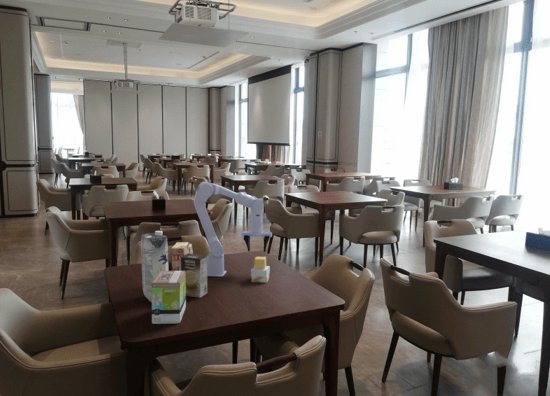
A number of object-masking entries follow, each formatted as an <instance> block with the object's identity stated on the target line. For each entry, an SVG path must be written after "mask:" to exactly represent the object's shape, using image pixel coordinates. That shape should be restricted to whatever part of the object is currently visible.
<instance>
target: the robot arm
mask: <svg viewBox="0 0 550 396" xmlns="http://www.w3.org/2000/svg"><path fill="white" fill-rule="evenodd" d="M219 194H220V195H222V196H225V197H228V198H230V199H233V200H235V203H236V204H238V205H240V206H244V207H246V208H248V209H249V208H250V230H249V231H242V232H241V237H242V238H243V240H244V241H243V242H245V244H246V247H247V252H250V251H251V237H262V238H263V253H265V252H266V251H267V245H268V242H269V240H270V238H272V237H273V232H271V231H263V229H264V227H263V224H264V222H263V219H264V217H263V216H264V215H263V210H264V208H265V205H264V201H263V200H261V199H260V198H258V197H256V196H255V195H250V194H247V192H246V191H239V192H235V191H233V190H231V189H228V188H226V187H224V186H222V185H221V184H220V185H219V184H216V183H213V182H211V183H210V182H208V181H201V182H200V183H199V184H198V186H197V187H196V189H195V195H194V198H193V205H194V208H195V211H196V213H197V216H198V219H199V221H200V223H201V226H202V228H203V229H202V230H203V232H204V234H205V237H206V239H207V242H208V243H207V244H208V247H207V248H208V250H209V251H210V252H209V253H208V255H206V256H207V277H224V276H225V274H226V273H227V270H225V255H224V253H225V248H224V246H223V245H222V243H221V241H219V239H218V236H217V234H216V231H215V229H214V226H213V224H212V221H211V218H210V216H209V212H208V210H207V208H206V203H207V200H208V199H209V198H210V197H211V196H212V195H219Z"/></svg>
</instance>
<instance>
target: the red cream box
mask: <svg viewBox="0 0 550 396" xmlns="http://www.w3.org/2000/svg"><path fill="white" fill-rule="evenodd" d="M170 250H171V271H181V257H182V256H184V255H186V254H188V253H189V254H194V251H193V244H192V243H190V242H187V241H185V242H183V241H182V242H177V241H176V243H175V244H174V245H173V246H172V247H171V249H170Z"/></svg>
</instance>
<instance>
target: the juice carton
mask: <svg viewBox="0 0 550 396" xmlns="http://www.w3.org/2000/svg"><path fill="white" fill-rule="evenodd" d="M163 232H164V231H162V230H155V231H154V232H153V233H152V232H149V233H141V235H140V238H141V239H140V252H141V253H140V256H141V259H140V260H141V278H142V279H141V281H142V282H141V284H142V291H143V295H144V297H145V298H146V299H147V300H148V301H149V302H150V303H152V282H153V280H154V279H155V277H156V276H157V274H158V272H159V271H170V270H169V268H170V267H169V248H168V247H169V246H168V236H167V235H164V234H163Z"/></svg>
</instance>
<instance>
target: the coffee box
mask: <svg viewBox="0 0 550 396" xmlns="http://www.w3.org/2000/svg"><path fill="white" fill-rule="evenodd" d="M207 256H208V255H204V254H197V253H193V254H189V253H188V254H186V255H184V256H182V257H181V271H185V279H186V297H191V298H192V297H194V298H202V297H203V296H205V295H206V294H208V276H207Z"/></svg>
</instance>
